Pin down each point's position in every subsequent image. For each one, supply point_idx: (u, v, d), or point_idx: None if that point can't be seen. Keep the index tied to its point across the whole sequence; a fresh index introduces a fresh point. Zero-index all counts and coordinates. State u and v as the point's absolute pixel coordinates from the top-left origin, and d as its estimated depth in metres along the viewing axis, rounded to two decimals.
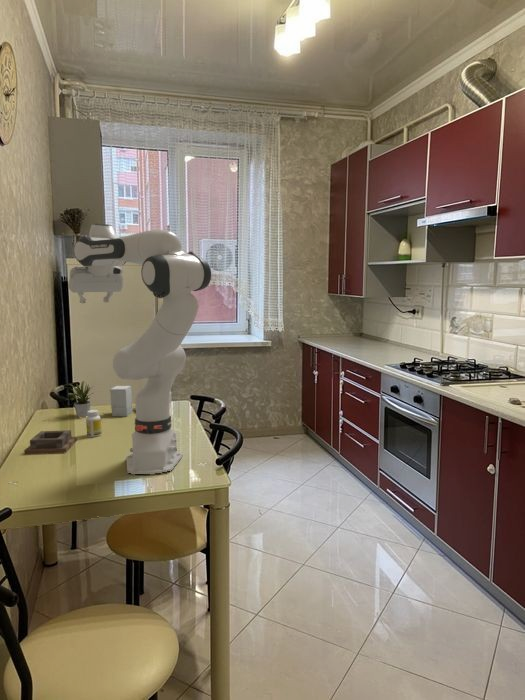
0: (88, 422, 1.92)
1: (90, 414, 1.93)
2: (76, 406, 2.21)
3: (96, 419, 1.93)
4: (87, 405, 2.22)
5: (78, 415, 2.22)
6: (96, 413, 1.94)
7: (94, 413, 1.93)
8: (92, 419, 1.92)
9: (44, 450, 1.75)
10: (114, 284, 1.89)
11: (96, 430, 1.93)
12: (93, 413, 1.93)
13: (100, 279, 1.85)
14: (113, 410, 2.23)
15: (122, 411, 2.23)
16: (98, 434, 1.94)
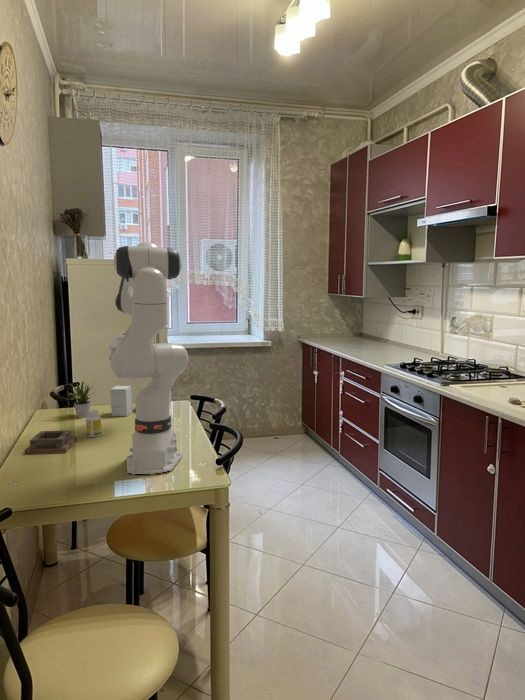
0: (88, 422, 1.92)
1: (90, 414, 1.93)
2: (76, 406, 2.21)
3: (96, 419, 1.93)
4: (87, 405, 2.22)
5: (78, 415, 2.22)
6: (96, 413, 1.94)
7: (94, 413, 1.93)
8: (92, 419, 1.92)
9: (44, 450, 1.75)
10: None
11: (96, 430, 1.93)
12: (93, 413, 1.93)
13: None
14: (113, 410, 2.23)
15: (122, 411, 2.23)
16: (98, 434, 1.94)
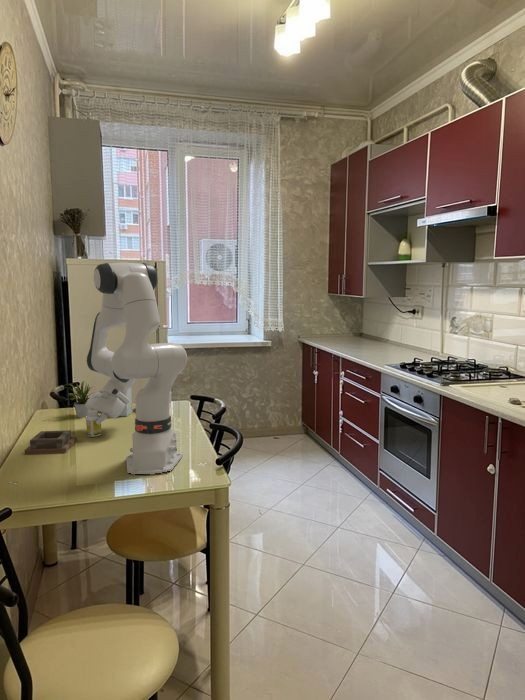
0: (88, 422, 1.92)
1: (90, 414, 1.93)
2: (76, 406, 2.21)
3: None
4: None
5: (78, 415, 2.22)
6: (96, 413, 1.94)
7: (94, 413, 1.93)
8: (92, 419, 1.92)
9: (44, 450, 1.75)
10: (109, 406, 1.93)
11: (96, 429, 1.93)
12: (93, 413, 1.93)
13: (104, 400, 1.97)
14: None
15: (122, 411, 2.23)
16: (98, 434, 1.94)
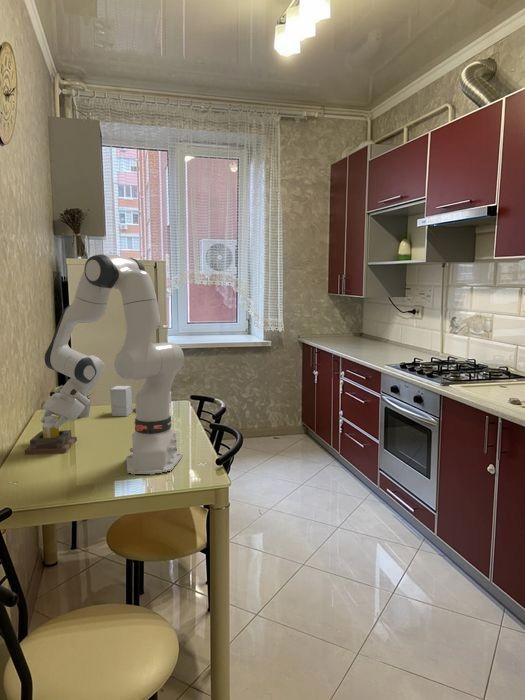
0: (44, 429, 1.78)
1: (46, 420, 1.78)
2: None
3: None
4: (87, 405, 2.22)
5: None
6: (53, 419, 1.79)
7: (51, 419, 1.79)
8: (49, 426, 1.78)
9: (44, 450, 1.75)
10: (66, 407, 1.78)
11: (53, 437, 1.79)
12: (50, 419, 1.79)
13: (63, 401, 1.83)
14: (113, 410, 2.23)
15: (122, 411, 2.23)
16: None
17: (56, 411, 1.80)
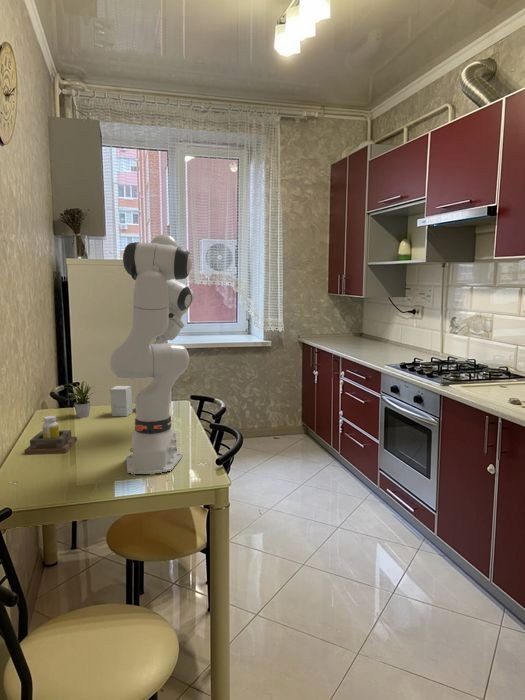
0: (44, 429, 1.78)
1: (46, 420, 1.78)
2: (76, 406, 2.21)
3: (53, 426, 1.79)
4: (87, 405, 2.22)
5: (78, 415, 2.22)
6: (53, 419, 1.79)
7: (51, 419, 1.79)
8: (49, 426, 1.78)
9: (44, 450, 1.75)
10: (165, 329, 1.96)
11: (53, 437, 1.79)
12: (50, 419, 1.79)
13: None
14: (113, 410, 2.23)
15: (122, 411, 2.23)
16: None
17: None
